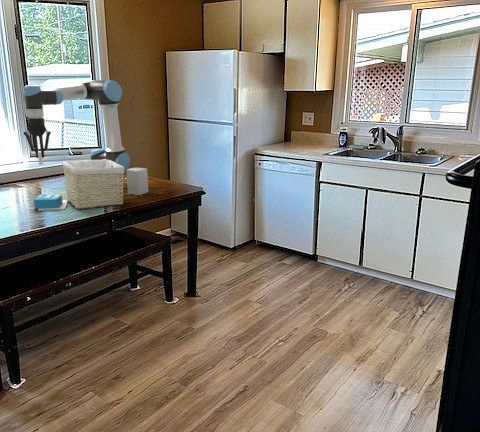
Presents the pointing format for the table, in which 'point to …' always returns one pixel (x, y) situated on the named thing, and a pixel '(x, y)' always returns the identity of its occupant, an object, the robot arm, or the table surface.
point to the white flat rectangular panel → (61, 207)
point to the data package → (48, 201)
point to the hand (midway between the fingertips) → (41, 164)
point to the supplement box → (137, 181)
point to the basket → (93, 183)
